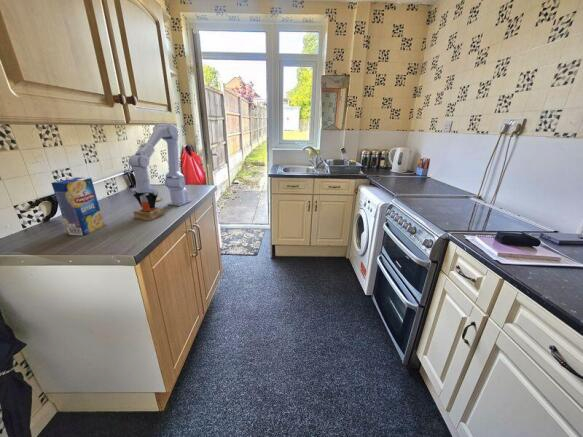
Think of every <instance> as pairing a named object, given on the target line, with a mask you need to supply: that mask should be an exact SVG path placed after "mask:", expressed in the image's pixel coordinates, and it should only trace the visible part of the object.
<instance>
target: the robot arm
mask: <svg viewBox="0 0 583 437" xmlns="http://www.w3.org/2000/svg"><path fill="white" fill-rule="evenodd" d="M161 140H163V141H165V142H166V144H167V145H166V146H167V162H168V172H167V173H166V174H165V180H164V185H165V187H166V188H168V191H169V195H170V201H171V202H169V203H168V205H170V206H178V207H180V206H183V205H185V204H187V203H189V202H191V200H190V199H189V193H188V190H187V188H186V179H185V175H184V174H183V173H181V172H180V156H179V155H180V154H179V130H178V128H177V126H176V125H175V124H174V123H155V124H154V126H153V127H152V133H151V135H150V136H149V138H148V140H147V142H143V143H141V144H140V147H139V148H138V149H137V151H136V152H135V153H134V154H133V155H132V154H131V156H130V157H129V158H128V165H129V166H130V167H131V170H132V171H133V175H134V180H135V184H136V187H133V188H131V189H130V190H131V193H133V197H134V198H135V199H136V201H137V202H138V204H139V206H140V207H141V208H142V205H141V200H140V195H142V194H149V195H146V196H145V197H146V198H147V200H148V202H149V205H150V208H151V209H152V208H155V207H156V203H157V202H156V198H158V197H159V196H158V195H160V193H159V190H157V189H154V188H152V185H151V181H150V176H149V170H148V167H149V166H150V160H151V157H152V156H153V154H154V152H155V147H156V145H157V144H158V143H159V142H160V141H161Z"/></svg>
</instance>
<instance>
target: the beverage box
mask: <svg viewBox="0 0 583 437" xmlns="http://www.w3.org/2000/svg"><path fill="white" fill-rule="evenodd" d="M50 184H51V186H52V189H53V193H54V195H55V198H56V199H55V200H56V201H57V204H58V207H59V211H60V214H61V216H62V219H63V223H64V226H65V228H66V231H67V234H68V236H86V235H88V234H90V233H92V232H95V231H96V230H98V229H100V228H103V227H105V223H104V220H103V216H102V212H101V208H100V204H99V201H98V197H97V193H96V191H95V190H96V189H95V186H94V182H93V179H92V177H76V176H75V177H71V178H67V179H63V180H58V181H53V182H51V183H50Z"/></svg>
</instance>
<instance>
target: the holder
mask: <svg viewBox="0 0 583 437" xmlns="http://www.w3.org/2000/svg"><path fill="white" fill-rule="evenodd" d="M154 209H155V210H153V211H151V212H143V210H142V208H139V209H136V210H134V211H133V215H134V219H137V220H144V221H152V220H154V219H157V218H159V217H162V216H164V215H165V212H164V208H163V207H157V206H155V208H154Z"/></svg>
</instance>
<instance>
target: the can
mask: <svg viewBox="0 0 583 437" xmlns="http://www.w3.org/2000/svg"><path fill="white" fill-rule="evenodd" d="M146 195H149V194H142V195H140V200H141V205H142V207H141V209H142V210H143V212H151V211H153V210H155V209H154V208H152V209H151V208H150V205H149V202H148V200H147V198H146V197H145V196H146Z"/></svg>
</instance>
